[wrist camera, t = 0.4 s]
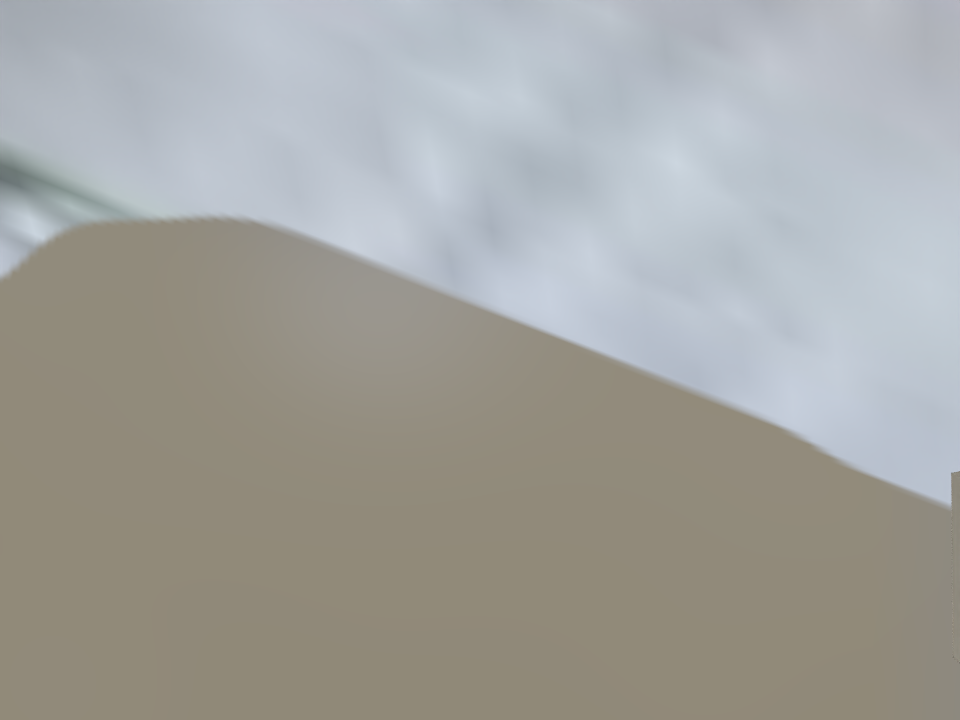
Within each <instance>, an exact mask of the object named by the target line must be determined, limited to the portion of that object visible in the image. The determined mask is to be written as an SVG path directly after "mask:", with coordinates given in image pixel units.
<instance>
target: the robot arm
mask: <svg viewBox="0 0 960 720" xmlns="http://www.w3.org/2000/svg"><path fill="white" fill-rule="evenodd" d="M951 483H952V587H953V589H952V591H953V592H952V593H953V658H954V659H955V660H957V661H958V662H959V663H960V471H959V472H954V473H951Z"/></svg>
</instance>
